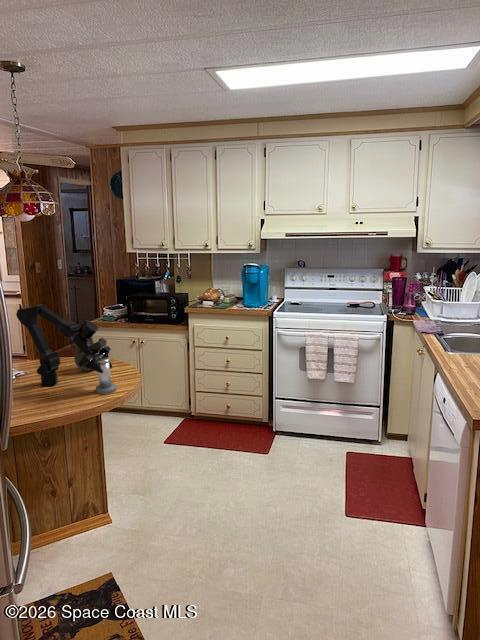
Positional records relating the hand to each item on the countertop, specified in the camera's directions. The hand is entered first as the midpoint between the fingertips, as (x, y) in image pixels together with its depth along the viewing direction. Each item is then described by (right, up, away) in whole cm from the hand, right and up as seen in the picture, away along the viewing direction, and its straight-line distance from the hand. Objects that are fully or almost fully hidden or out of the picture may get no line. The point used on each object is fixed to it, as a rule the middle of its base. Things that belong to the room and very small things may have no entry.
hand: (107, 370), depth 213 cm
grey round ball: (-18, -4, +33) cm, 38 cm away
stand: (-1, -10, +3) cm, 10 cm away
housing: (-1, -8, +2) cm, 8 cm away
